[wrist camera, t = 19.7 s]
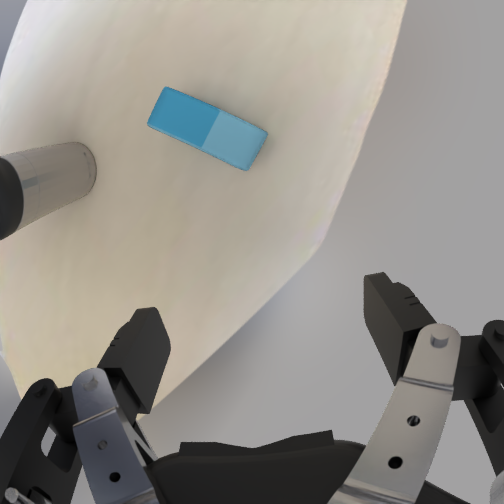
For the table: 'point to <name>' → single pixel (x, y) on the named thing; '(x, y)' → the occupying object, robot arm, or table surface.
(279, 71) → the table surface
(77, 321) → the table surface
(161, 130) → the data package
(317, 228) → the table surface
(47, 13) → the table surface
